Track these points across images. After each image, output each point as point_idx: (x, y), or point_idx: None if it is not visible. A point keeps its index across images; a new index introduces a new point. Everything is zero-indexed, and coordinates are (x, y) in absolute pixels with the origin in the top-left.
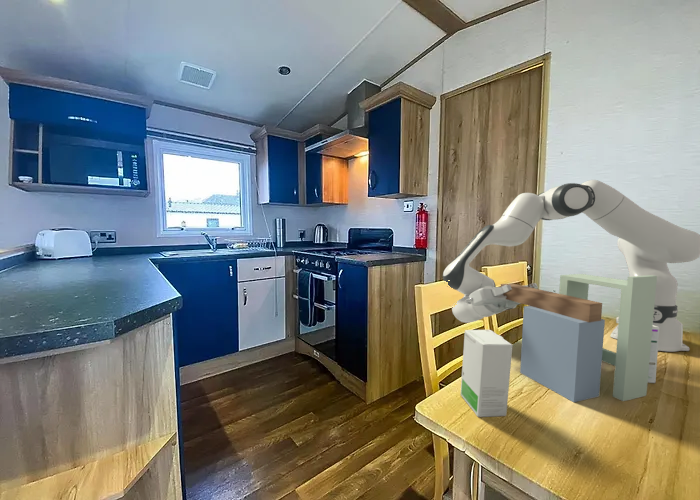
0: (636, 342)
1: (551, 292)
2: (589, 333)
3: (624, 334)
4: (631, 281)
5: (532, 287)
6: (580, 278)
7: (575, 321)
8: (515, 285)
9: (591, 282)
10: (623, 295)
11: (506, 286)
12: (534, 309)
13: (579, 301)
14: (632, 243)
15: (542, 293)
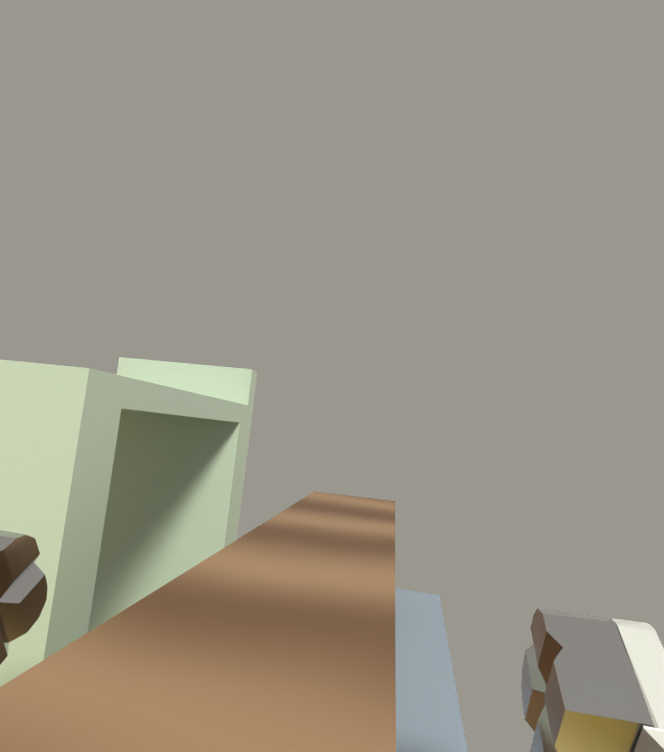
0: None
1: (274, 528)
2: None
3: None
4: (254, 387)
5: (24, 597)
6: (171, 388)
7: (434, 600)
8: (177, 677)
9: (195, 407)
10: (238, 447)
11: (641, 639)
12: (456, 704)
13: (382, 506)
14: None
15: (390, 542)
